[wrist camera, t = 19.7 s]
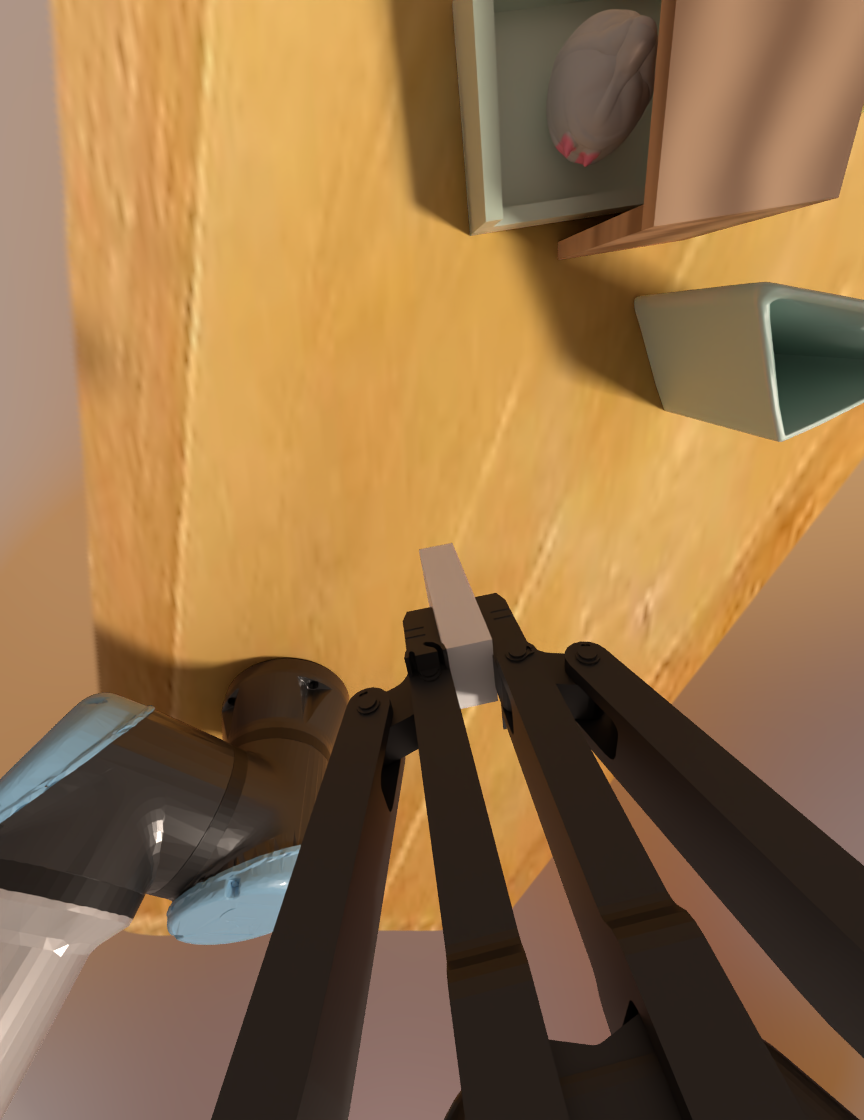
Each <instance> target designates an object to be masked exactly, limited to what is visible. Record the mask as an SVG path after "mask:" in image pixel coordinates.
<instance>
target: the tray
mask: <svg viewBox="0 0 864 1120" xmlns="http://www.w3.org/2000/svg"><path fill="white" fill-rule="evenodd" d="M661 2H662V0H453V3H452V9H453V22H454V35H455V48H456V61H457V74H458V87H459V100H460V113H461V126H462V139H463V152H464V165H465V178H466V191H467V204H468V217H469V230H470V236H472V235H478V234H484V233H491V232H497V231H504V230H510V229H517V228H523V227H530V226H536V225H542V224H549V223H555V222H562V221H568V220H575V219H581V218H588V217H594V216H600V215H607V214H613V213H620V212H626V211H630V210H632V209H634V208H636V207H639V206H641V205H643V204H644V195H645V183H646V172H647V161H648V149H649V138H650V127H651V115H652V104H653V95H652V98H651V100H650V102H649V104H648V105H647V107H646V109H645V111H644V113H643V115H642V117H641V118H640V120H639V121H638V123H637V125H636V126H635V128H634V129H633V130H632V132H631V133H630V134H629V136H628V137H627V138H626V139H625V141H624V142H623V143H622V144H621V145H620V146H619V147H618V148H617V149H616V150H614V151H613V152H612V153H611V154H609V155H608V156H606V157H605V158H604V159H602V160H600V161H599V162H597V163H594V164H591V165H588V166H587V167H584V166H583V165H582V164H579V163H573V162H570V161H569V160H567V159H566V158H565V157H564V156H563V155H562V154H561V153H560V152H559V151H558V150H557V149H556V147H555V145H554V144H553V142H552V139H551V136H550V133H549V129H548V124H547V117H546V103H547V93H548V86H549V81H550V77H551V72H552V68H553V65H554V61H555V59H556V57H557V55H558V53H559V51H560V49H561V48H562V47H563V45H564V44H565V42H566V41H567V40H568V38H569V37H570V36H571V35H572V34H573V33H574V31H575V30H576V29H577V28H578V27H579V26H580V25H581V24H582V23H583V22H585V21H586V20H587V19H588V18H590V17H591V16H593V15H595V14H597V13H599V12H602V11H605V10H610V9H620V10H632V11H636V12H637V13H639V14H640V15H644V16H648V17H651V18H652V19H653V20H654V21H655V22H656V25H657V34H658V36H659V24H660V13H661ZM656 59H657V56H656ZM655 70H656V64H655ZM653 93H654V91H653Z"/></svg>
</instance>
